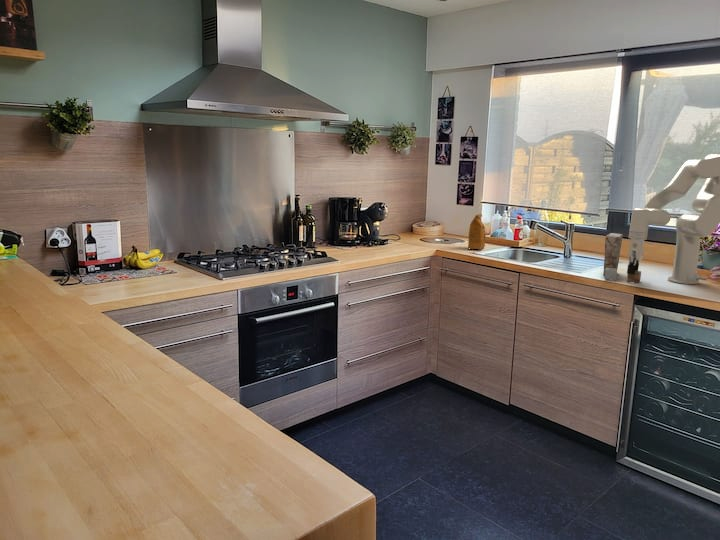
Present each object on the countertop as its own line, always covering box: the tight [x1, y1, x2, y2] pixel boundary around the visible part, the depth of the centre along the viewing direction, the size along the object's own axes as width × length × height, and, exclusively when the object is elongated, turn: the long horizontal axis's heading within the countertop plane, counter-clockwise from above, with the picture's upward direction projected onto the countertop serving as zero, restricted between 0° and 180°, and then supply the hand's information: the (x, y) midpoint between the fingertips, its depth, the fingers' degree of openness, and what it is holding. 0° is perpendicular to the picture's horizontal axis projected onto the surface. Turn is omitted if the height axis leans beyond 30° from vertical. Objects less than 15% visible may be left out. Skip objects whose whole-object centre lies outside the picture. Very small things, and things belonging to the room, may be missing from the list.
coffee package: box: [467, 213, 487, 251], centre depth 343 cm, size 10×12×22 cm
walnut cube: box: [626, 270, 642, 284], centre depth 254 cm, size 5×5×5 cm
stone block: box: [603, 232, 624, 276], centre depth 269 cm, size 13×7×20 cm, turn 153°
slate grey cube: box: [603, 268, 618, 281], centre depth 260 cm, size 5×5×5 cm
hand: (632, 272), depth 254 cm, fingers open, 9 cm apart
